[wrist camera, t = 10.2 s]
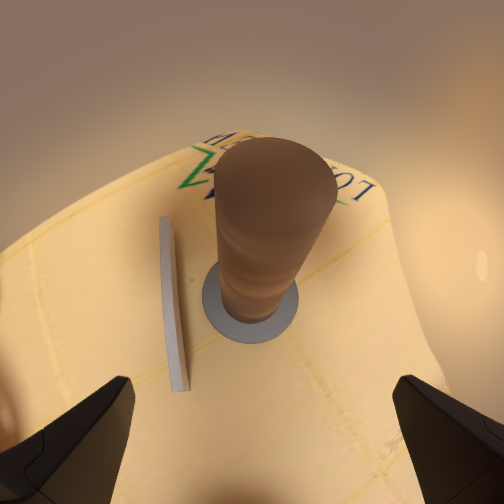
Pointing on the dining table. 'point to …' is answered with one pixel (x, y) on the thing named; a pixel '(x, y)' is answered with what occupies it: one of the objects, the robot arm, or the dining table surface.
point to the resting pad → (243, 330)
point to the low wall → (172, 308)
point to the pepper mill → (267, 220)
